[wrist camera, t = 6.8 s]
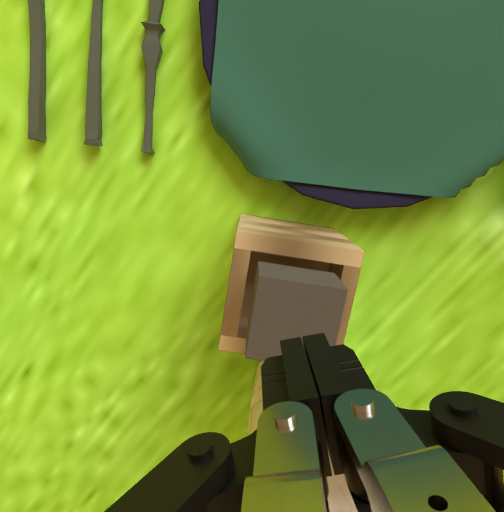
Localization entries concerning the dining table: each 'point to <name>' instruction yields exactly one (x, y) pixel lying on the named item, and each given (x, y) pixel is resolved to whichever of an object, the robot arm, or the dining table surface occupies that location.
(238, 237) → the button box
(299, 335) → the button cap
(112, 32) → the dining table surface
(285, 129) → the cutlery set
